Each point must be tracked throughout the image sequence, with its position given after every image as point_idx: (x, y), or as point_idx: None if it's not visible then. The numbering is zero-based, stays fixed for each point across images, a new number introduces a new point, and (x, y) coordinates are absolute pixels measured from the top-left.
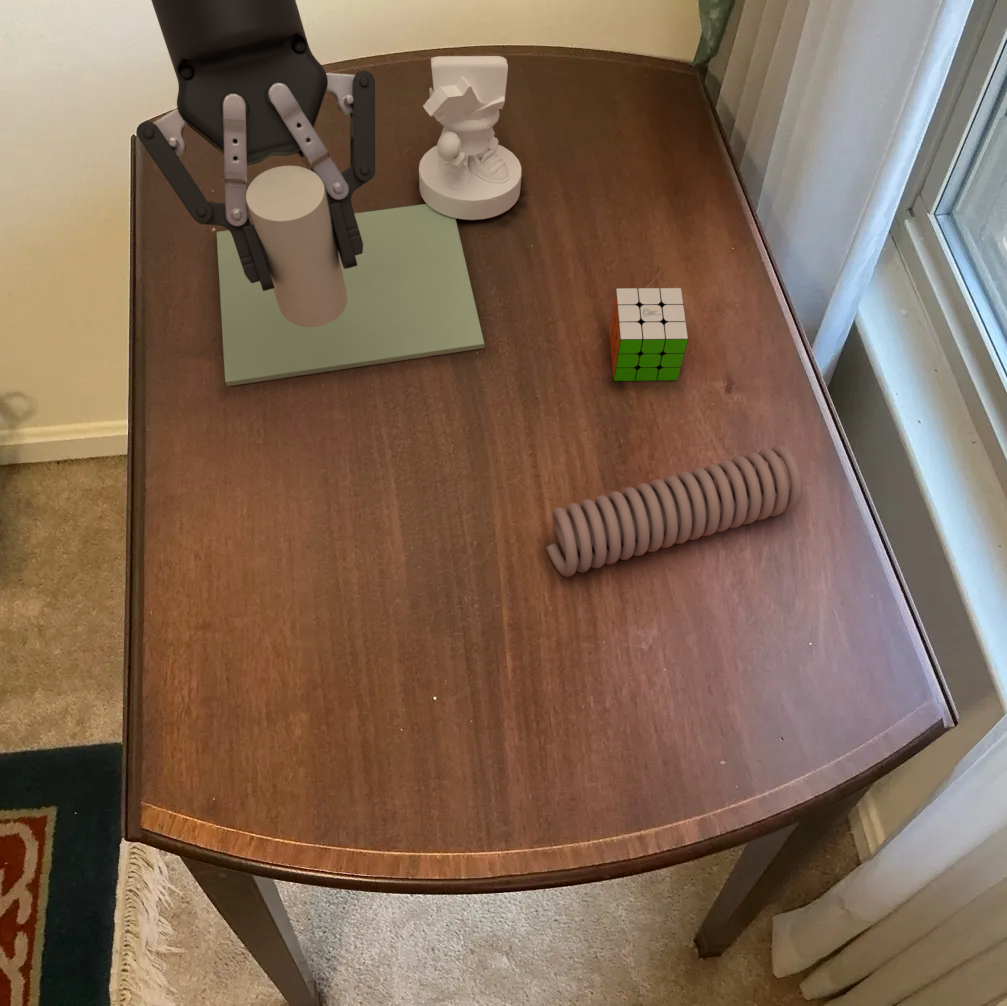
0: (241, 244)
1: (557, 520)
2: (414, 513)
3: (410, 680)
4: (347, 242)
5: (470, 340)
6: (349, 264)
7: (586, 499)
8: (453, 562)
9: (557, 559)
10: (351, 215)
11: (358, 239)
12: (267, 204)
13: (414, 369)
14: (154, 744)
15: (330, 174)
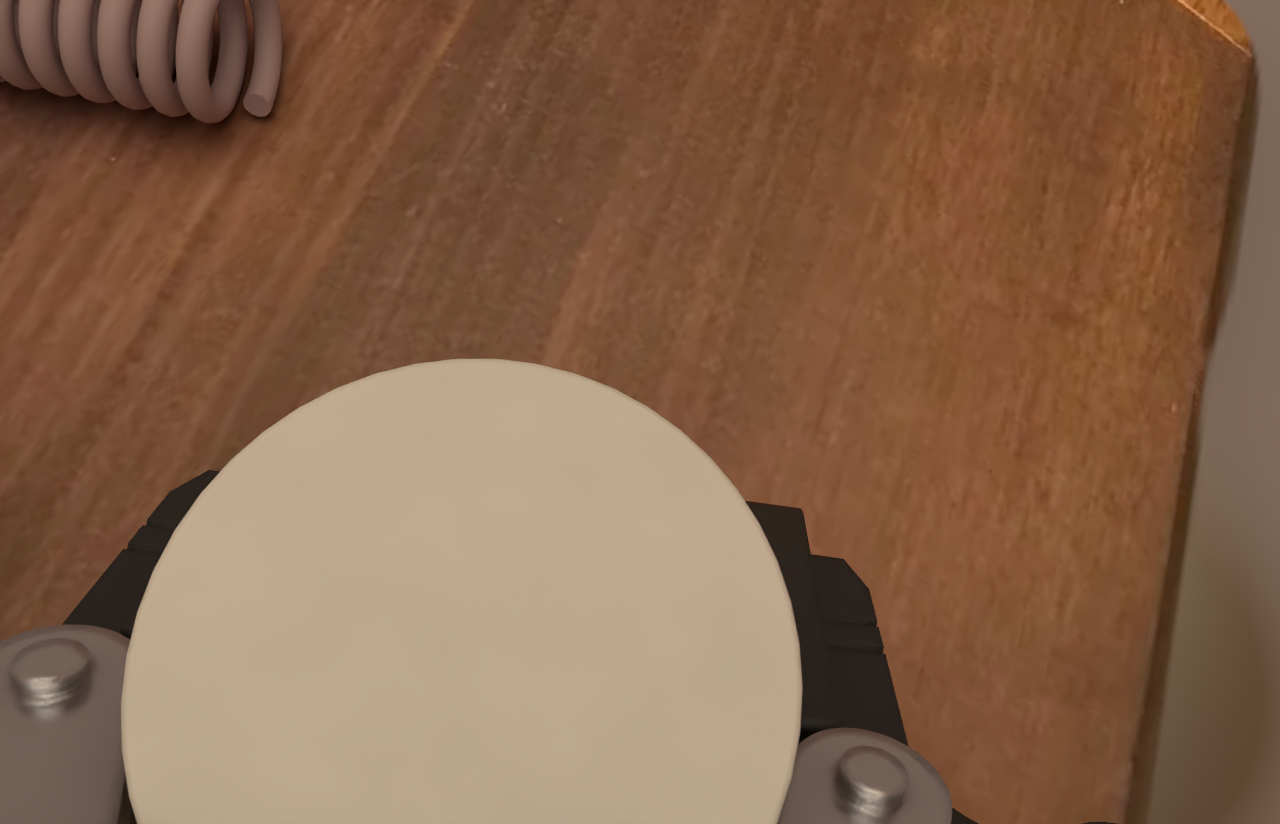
0: (858, 701)
1: (211, 24)
2: (502, 349)
3: (694, 16)
4: None
5: None
6: None
7: (107, 47)
8: (482, 193)
9: (266, 63)
10: (109, 597)
11: (175, 512)
12: (655, 609)
13: None
14: (1212, 138)
15: (16, 765)
